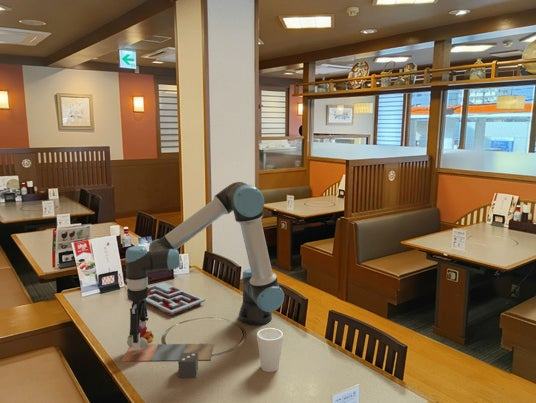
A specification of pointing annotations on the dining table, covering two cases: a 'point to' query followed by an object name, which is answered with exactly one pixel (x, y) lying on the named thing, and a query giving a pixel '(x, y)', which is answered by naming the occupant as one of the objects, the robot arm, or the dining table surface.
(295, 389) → the dining table surface
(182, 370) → the die
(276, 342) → the foam cup
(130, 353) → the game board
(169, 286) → the maze game
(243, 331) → the dining table surface
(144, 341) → the multicoloured rounded cluster
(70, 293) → the dining table surface
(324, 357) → the dining table surface
